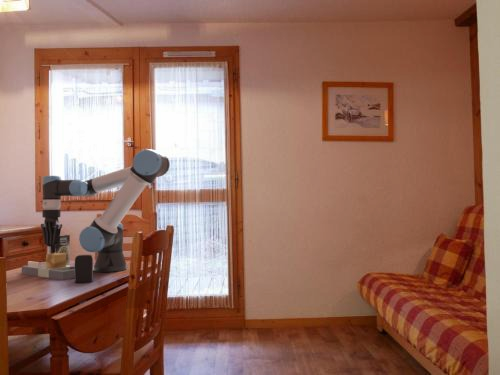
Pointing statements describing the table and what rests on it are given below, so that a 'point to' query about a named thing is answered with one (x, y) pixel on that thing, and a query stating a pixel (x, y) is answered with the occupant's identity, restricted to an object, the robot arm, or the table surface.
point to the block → (55, 260)
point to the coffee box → (64, 246)
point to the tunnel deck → (48, 271)
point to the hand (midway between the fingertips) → (51, 260)
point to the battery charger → (83, 268)
